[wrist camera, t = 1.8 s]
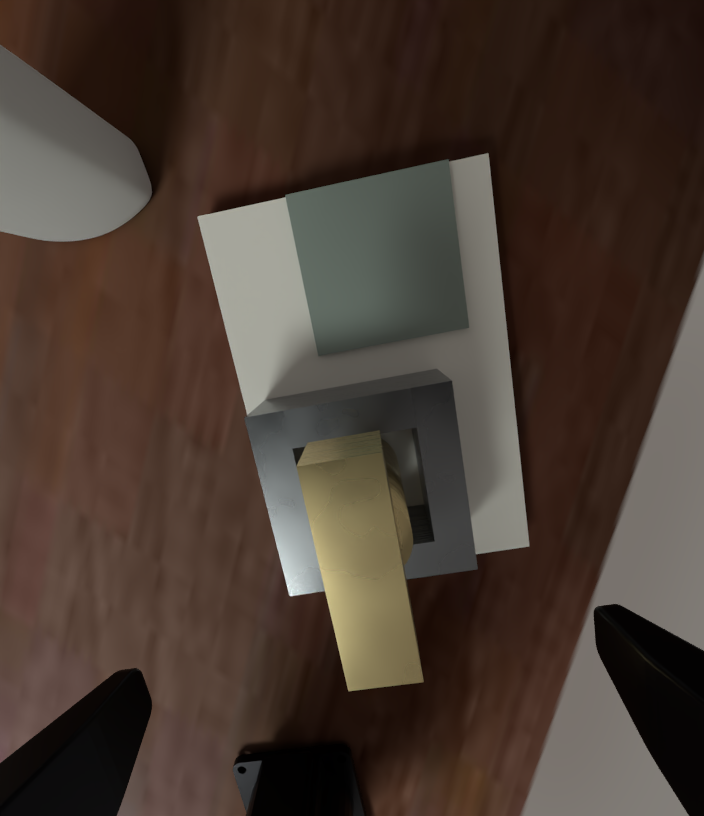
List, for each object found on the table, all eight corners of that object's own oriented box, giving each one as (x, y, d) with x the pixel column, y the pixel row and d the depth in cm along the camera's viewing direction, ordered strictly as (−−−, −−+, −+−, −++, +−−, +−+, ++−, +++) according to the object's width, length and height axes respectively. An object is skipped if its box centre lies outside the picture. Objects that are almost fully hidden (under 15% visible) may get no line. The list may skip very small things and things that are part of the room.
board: (521, 534, 19) (529, 546, 18) (293, 568, 20) (289, 581, 19) (481, 162, 16) (488, 153, 15) (207, 222, 17) (197, 216, 16)
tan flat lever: (409, 527, 18) (438, 680, 11) (347, 537, 18) (333, 692, 11) (385, 387, 17) (399, 449, 9) (318, 399, 17) (279, 469, 10)
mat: (467, 327, 16) (469, 327, 16) (319, 355, 17) (318, 356, 16) (446, 162, 15) (448, 159, 15) (286, 197, 15) (284, 194, 15)
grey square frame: (459, 527, 18) (477, 569, 15) (301, 551, 19) (289, 595, 16) (437, 368, 17) (452, 380, 14) (265, 399, 17) (244, 417, 14)
